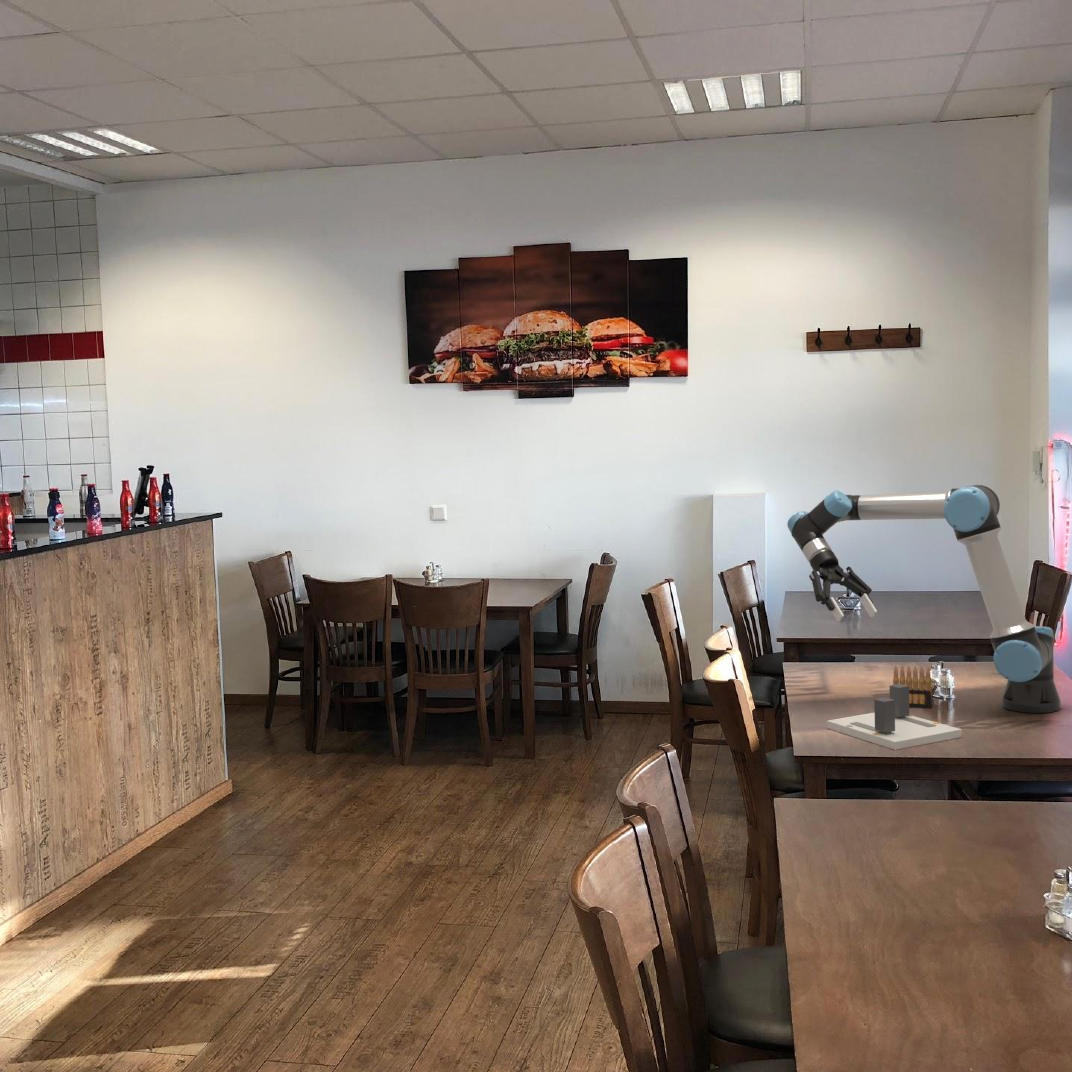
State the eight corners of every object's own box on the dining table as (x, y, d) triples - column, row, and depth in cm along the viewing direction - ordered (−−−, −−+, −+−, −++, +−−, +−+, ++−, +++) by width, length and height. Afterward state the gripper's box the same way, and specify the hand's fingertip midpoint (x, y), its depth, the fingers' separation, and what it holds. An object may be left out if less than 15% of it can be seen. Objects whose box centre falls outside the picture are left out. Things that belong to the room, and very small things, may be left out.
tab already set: (874, 730, 288) (874, 699, 287) (885, 728, 289) (884, 697, 289) (884, 732, 285) (883, 701, 284) (895, 731, 286) (894, 700, 286)
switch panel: (826, 728, 302) (826, 720, 302) (890, 716, 311) (890, 708, 311) (895, 749, 278) (894, 741, 278) (961, 737, 287) (961, 728, 287)
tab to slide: (890, 714, 303) (889, 685, 302) (900, 713, 304) (899, 683, 304) (899, 717, 300) (898, 687, 299) (909, 715, 301) (908, 686, 300)
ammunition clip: (932, 707, 320) (931, 665, 319) (932, 708, 318) (931, 666, 317) (893, 705, 324) (892, 664, 323) (892, 706, 323) (891, 665, 322)
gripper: (847, 562, 335) (883, 620, 322) (782, 568, 325) (817, 628, 312) (858, 546, 330) (896, 604, 317) (793, 551, 320) (829, 612, 307)
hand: (857, 616), depth 315 cm, fingers open, 11 cm apart
